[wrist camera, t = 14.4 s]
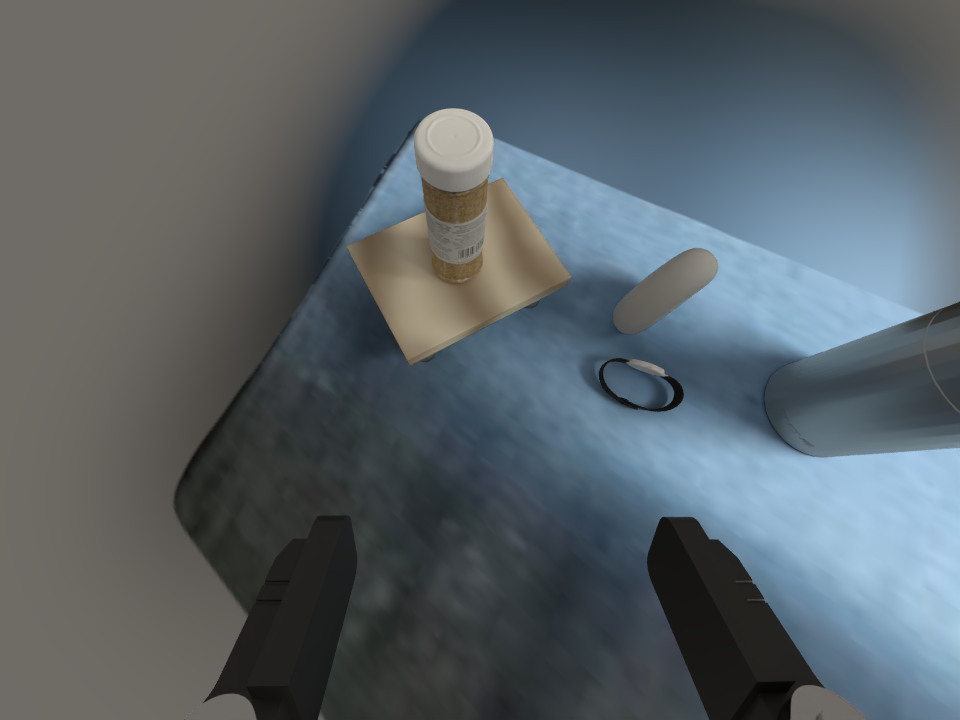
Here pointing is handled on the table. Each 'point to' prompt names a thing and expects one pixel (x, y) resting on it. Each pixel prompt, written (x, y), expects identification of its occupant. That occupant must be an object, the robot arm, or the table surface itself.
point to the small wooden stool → (457, 306)
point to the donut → (665, 290)
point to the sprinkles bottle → (455, 189)
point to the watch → (649, 369)
